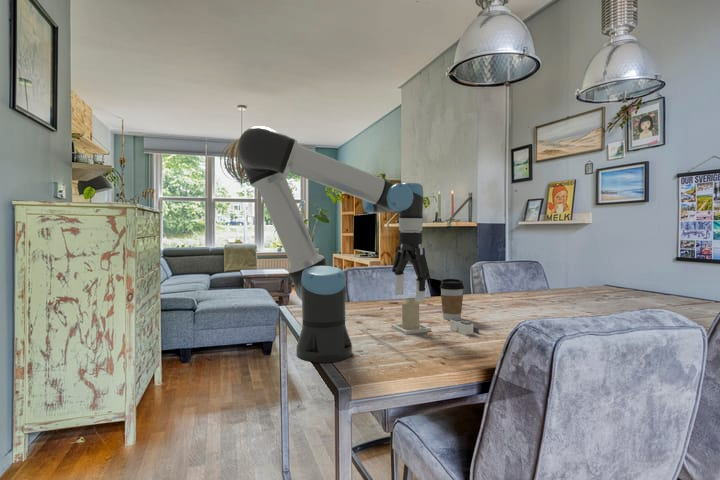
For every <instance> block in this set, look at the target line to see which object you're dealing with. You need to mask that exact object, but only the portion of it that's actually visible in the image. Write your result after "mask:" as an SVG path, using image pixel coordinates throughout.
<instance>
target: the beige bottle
mask: <svg viewBox="0 0 720 480" xmlns="http://www.w3.org/2000/svg"><path fill="white" fill-rule="evenodd" d="M401 323H402V327H401V328H402V329H404V330H414V329H420V327H419V323H420V302H416V298H413V297H411V298H410V297H408V298H405V299H404V300H403V301H402V303H401Z"/></svg>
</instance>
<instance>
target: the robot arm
mask: <svg viewBox="0 0 720 480" xmlns="http://www.w3.org/2000/svg"><path fill="white" fill-rule="evenodd" d="M237 152H238V154H237V156H238V161H239V164H240V166H241V168H242V169H243V170H244V173H245V175H246V177H247V179H248V182H249V184H250V186H251V187H252V188H255V189H257V190H258V192H259V193H260V196H261V198H262V201H263V203H264V205H265V208H266V211H267V212H268V215H269V217H270V220H271V222H272V224H273V227H274V229H275V231H276V233H277V236H278V238H279V240H280V243H281V245H282V248H283V250H284V252H285V255H286V257H287V260H288V262H289V263H290V265H289V267H288V270H287V272H288V274H289V277H290V280H291V282H292V284H293V287H294V291H295V293H296V296H297V297H298V298H299V300H300V301H301V303H302V304H301V305H302V306H301V310H302V311H301V313H302V315H301V316H302V317H301V318H302V327H301V331H300V334H299V337H298V341H297V345H296V347H295V348H296V350H295V351H296V357H297V358H298V359H300V360H301V361H304V362H310V363H321V364H322V363H323V364H325V363H326V364H327V363H334V362H339V361H344V360H345V359H348V358H349V357H351V356H352V354H353V344H352V341H351V338H350V335H349V331H348V329H347V325H346V284H347V283H346V277H345V272H344V271H343V270H342V269H341V268H339V267H336V266H332V265H328V263H327V261H326V259H325V256H324V255H322V254H319V253H318V251H317V249H316V247H315V245H314V243H313V240H312V238H311V235H310V233H309V230H308V228H307V225H306V223H305V221H304V219H303V216H302V214H301V211H300V209H299V206H298V203H297V202H296V200H295V197H294V195H293V192H292V190H291V188H290V184H289V182H288V180H287V177H288V175H289V173H291V174H293V175H295V176H299V177H301V178H304V179H306V180H310V181H312V182H314V183H318V184H319V185H322V186H326V187H328V188H331V189H333V190H335V191H339V192H340V193H341V192H342V193H344V194H347V195H349V196H352V197H355V198H357V199H360V200H361V203H362V204H361V205H362V209H363V211H365V212H366V213H373V214H375V213H379V214H380V213H385V214H387V213H389V214H390V213H392V214H394V213H395V214H398V231H400V232H399V233H398V243H399V245H397V246H396V254H395V258H394V261H393V265H392V268H391V269H392V270H391V272H392V273H394V275H395V289H394V292H395V293H394V294H395V296H396V295H397V296H398V295H400V296H401V295H404V289H405V288H404V286H405V283H404V281H405V280H404V279H405V278H404V277H405V272H404V271H405V269H406V267H407V265H408V262H410V263H411V264H412V268H413V270H414V272H415V275H416V279H415V300H416V302H419V303H422V302H423V303H424V302H426V301H425V300H426V297H425V296H426V282H427V280H430V279H431V274H430V270H429V267H428V262H427V258H426V249H425V247H419V246H420V245H422V244H423V233H422V231H423V224H424V223H423V217H424V215H423V214H424V213H423V212H424V199H425V197H424V187H423V185H422V184H421V183H417V182H403V183H400V182H399V183H398V182H397V183H394V182H392V181H390V180H386V179H384V178H383V177H380V176H377V175H374V174H372V173H369V172H367V171H365V170H362V169H360V168H357V167H355V166H352V165H349V164H347V163H345V162H342V161H339V160H337V159H335V158H332V157H330V156H327V155H325V154H323V153H320V152H318V151H316V150H312V149H310V148H307V147H305V146H302V145H300V143H299V142H298V140H297V139H296V138H293V137H291V136H288V135H286V134H284V133H281V132H279V131H278V130H275V129H272V128H270V127H267V126H261V125H260V126H259V125H258V126H253V127H249V128H247V129H246V130H245V131H244V132H243V133H242V134H241V136H240V137H239V139H238V142H237Z"/></svg>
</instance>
